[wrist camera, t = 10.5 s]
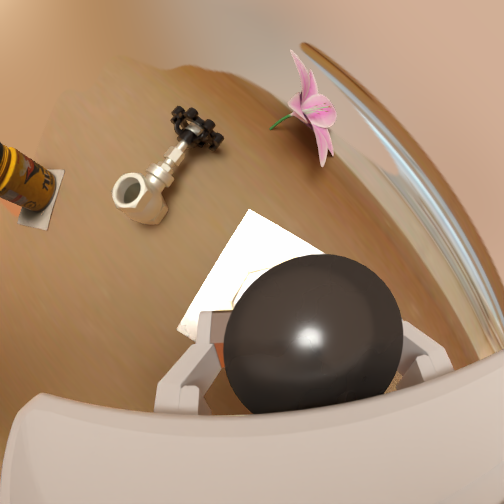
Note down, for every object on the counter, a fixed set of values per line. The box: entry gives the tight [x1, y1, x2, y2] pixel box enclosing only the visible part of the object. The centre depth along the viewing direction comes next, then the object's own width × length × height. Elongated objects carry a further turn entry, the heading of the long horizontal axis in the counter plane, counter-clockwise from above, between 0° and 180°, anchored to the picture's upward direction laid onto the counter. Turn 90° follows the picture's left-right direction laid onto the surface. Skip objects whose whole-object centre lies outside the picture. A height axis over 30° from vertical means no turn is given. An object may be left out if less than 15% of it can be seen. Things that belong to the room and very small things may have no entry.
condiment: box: [0, 143, 64, 230], centre depth 24 cm, size 7×8×12 cm
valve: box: [111, 106, 224, 225], centre depth 26 cm, size 7×7×12 cm
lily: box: [270, 50, 337, 167], centre depth 27 cm, size 12×12×10 cm
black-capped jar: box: [223, 254, 403, 414], centre depth 12 cm, size 5×5×9 cm
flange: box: [176, 209, 325, 342], centre depth 26 cm, size 14×14×3 cm
